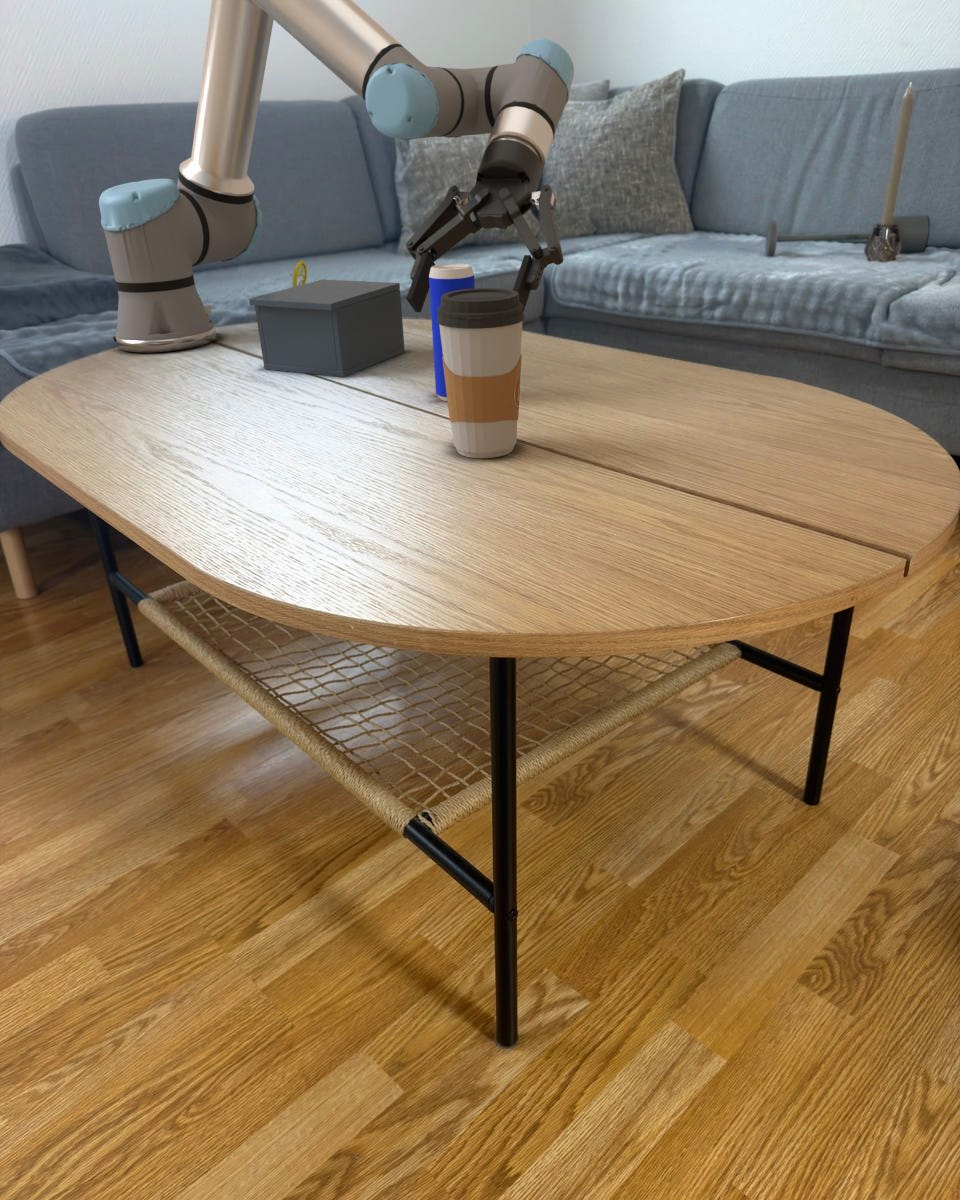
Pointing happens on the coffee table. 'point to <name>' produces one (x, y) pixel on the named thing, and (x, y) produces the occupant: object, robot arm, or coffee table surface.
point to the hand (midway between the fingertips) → (462, 308)
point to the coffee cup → (482, 368)
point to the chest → (331, 336)
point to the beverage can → (440, 283)
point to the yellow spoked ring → (296, 270)
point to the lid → (325, 294)
